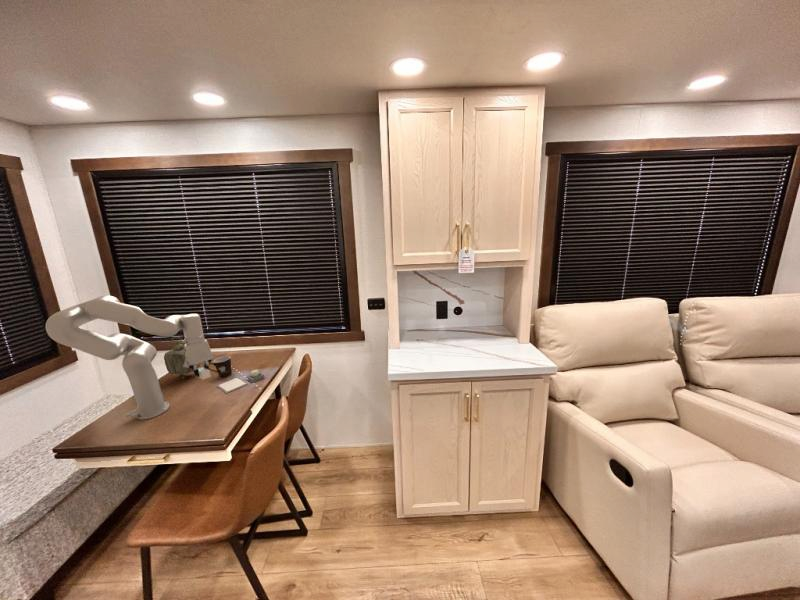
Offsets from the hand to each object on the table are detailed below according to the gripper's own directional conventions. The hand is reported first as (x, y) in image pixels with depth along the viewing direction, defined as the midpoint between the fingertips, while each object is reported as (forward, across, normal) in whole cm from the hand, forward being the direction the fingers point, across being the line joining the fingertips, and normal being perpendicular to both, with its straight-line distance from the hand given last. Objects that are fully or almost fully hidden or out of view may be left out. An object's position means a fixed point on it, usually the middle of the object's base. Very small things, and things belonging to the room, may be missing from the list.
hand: (202, 374), depth 149 cm
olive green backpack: (+14, +1, +38) cm, 40 cm away
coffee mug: (+13, +15, +20) cm, 29 cm away
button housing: (+12, +24, -2) cm, 27 cm away
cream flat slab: (+13, +13, +2) cm, 19 cm away
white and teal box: (+1, 0, 0) cm, 1 cm away
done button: (+11, +24, -1) cm, 26 cm away
